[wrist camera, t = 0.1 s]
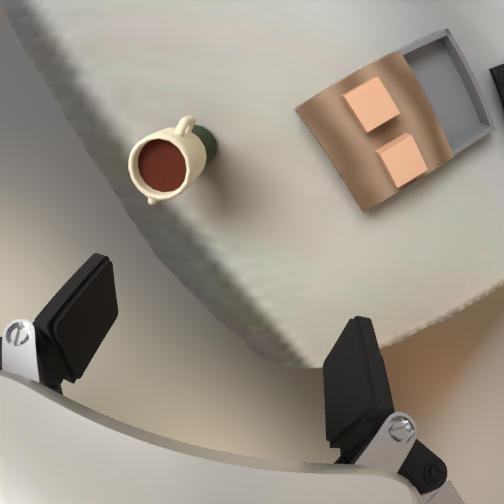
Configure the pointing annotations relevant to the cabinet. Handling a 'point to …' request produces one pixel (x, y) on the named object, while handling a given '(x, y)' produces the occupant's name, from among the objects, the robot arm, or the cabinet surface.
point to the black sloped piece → (499, 80)
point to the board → (375, 129)
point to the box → (449, 88)
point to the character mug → (171, 159)
